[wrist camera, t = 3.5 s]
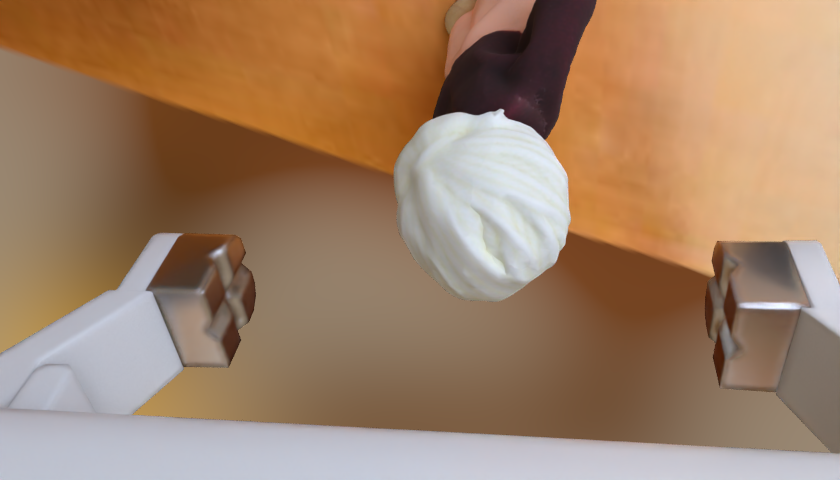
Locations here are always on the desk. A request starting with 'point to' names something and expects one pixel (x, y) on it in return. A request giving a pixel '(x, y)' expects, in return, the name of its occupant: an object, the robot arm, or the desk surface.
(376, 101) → the desk surface
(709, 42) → the desk surface
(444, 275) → the grandmother figurine
